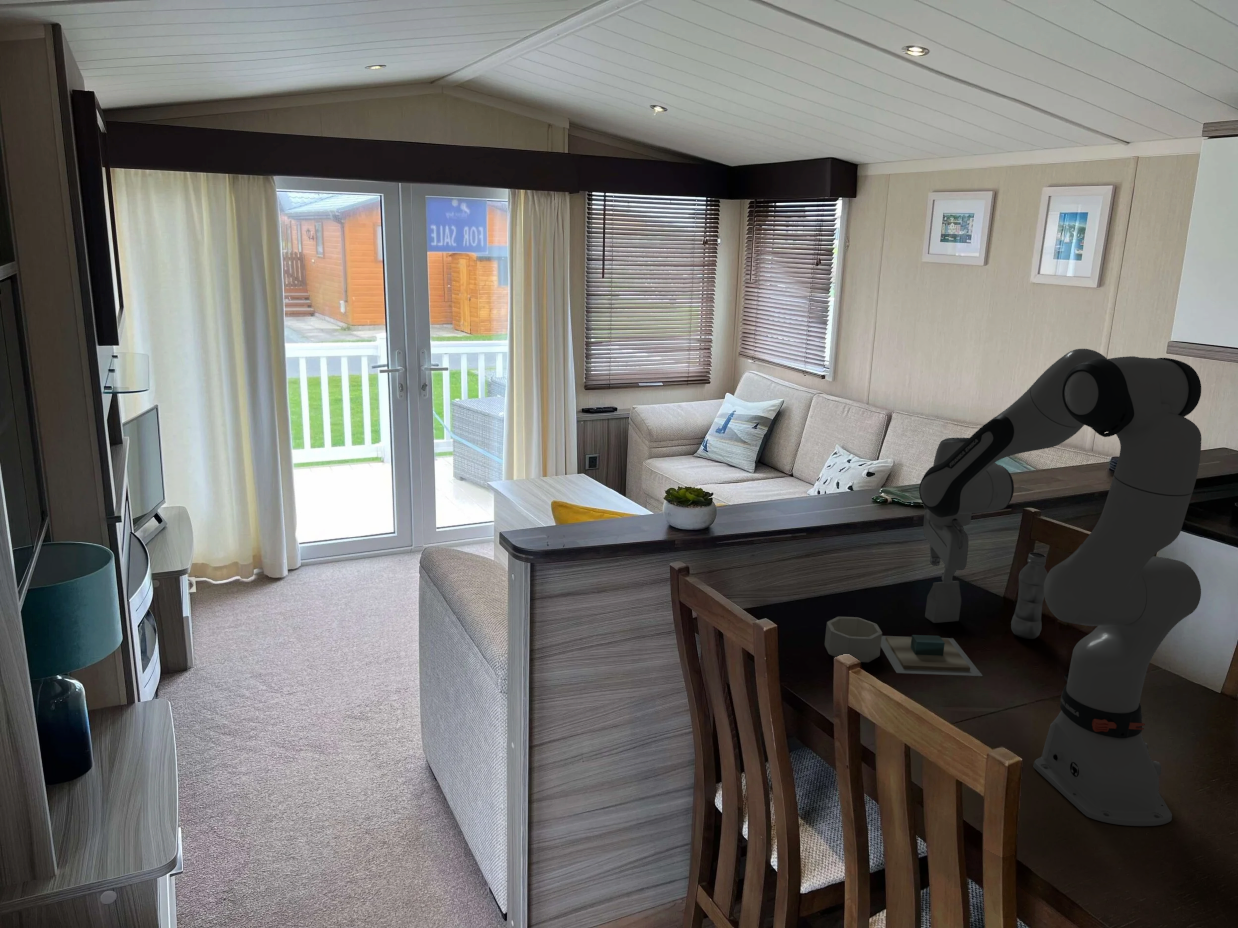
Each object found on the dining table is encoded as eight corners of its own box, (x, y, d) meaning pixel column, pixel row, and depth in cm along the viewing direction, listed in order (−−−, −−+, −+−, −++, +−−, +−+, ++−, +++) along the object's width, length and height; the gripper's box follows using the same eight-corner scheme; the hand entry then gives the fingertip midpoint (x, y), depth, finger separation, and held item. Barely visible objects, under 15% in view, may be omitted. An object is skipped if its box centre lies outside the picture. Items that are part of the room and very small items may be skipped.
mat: (982, 678, 190) (982, 675, 190) (896, 675, 190) (896, 672, 190) (952, 640, 208) (953, 638, 208) (873, 637, 208) (874, 635, 208)
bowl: (883, 665, 195) (886, 639, 193) (831, 663, 195) (834, 637, 193) (870, 642, 205) (872, 617, 204) (821, 640, 205) (823, 616, 204)
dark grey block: (958, 623, 218) (963, 584, 215) (933, 625, 216) (938, 585, 213) (948, 616, 221) (954, 578, 218) (924, 618, 219) (929, 580, 217)
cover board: (969, 671, 192) (972, 654, 191) (903, 668, 192) (905, 652, 191) (947, 641, 206) (949, 626, 205) (885, 639, 206) (887, 624, 205)
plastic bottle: (1033, 630, 214) (1046, 550, 209) (1044, 643, 208) (1057, 561, 203) (1005, 628, 215) (1017, 548, 210) (1014, 641, 209) (1027, 559, 204)
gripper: (980, 530, 180) (970, 594, 184) (950, 497, 200) (942, 556, 204) (947, 528, 181) (938, 592, 185) (921, 496, 200) (913, 554, 204)
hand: (940, 573), depth 194 cm, fingers open, 8 cm apart
